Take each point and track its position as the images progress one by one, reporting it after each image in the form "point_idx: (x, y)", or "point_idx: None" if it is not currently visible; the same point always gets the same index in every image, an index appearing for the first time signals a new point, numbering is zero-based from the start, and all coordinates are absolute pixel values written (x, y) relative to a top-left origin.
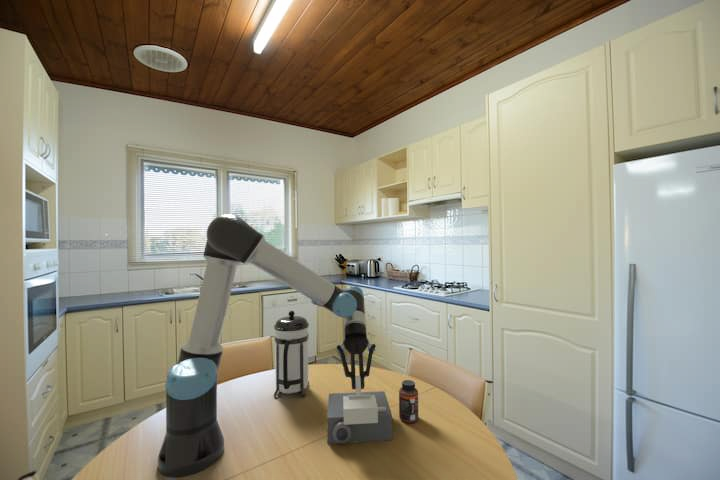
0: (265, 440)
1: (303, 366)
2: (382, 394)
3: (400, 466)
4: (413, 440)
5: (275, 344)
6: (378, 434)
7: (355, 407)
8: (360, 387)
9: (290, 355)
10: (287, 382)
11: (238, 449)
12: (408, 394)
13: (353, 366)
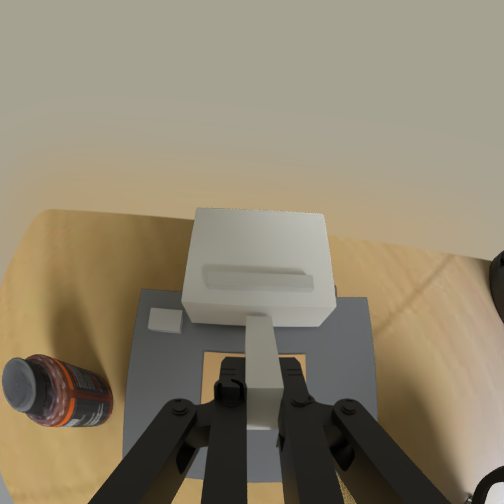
0: (460, 336)
1: None
2: (135, 441)
3: (176, 233)
4: (114, 306)
5: None
6: None
7: (280, 217)
8: (248, 343)
9: None
10: (494, 480)
11: (482, 308)
12: (47, 359)
13: (306, 445)
